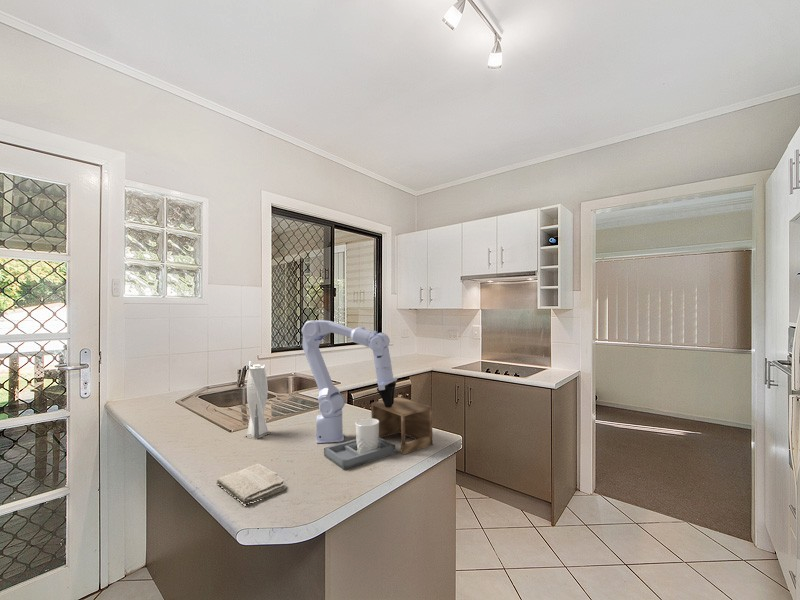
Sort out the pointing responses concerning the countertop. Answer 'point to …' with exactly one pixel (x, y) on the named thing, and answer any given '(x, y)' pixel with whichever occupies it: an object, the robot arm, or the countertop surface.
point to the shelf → (405, 422)
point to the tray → (356, 453)
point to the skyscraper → (257, 401)
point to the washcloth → (252, 483)
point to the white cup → (367, 434)
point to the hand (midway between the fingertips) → (389, 405)
